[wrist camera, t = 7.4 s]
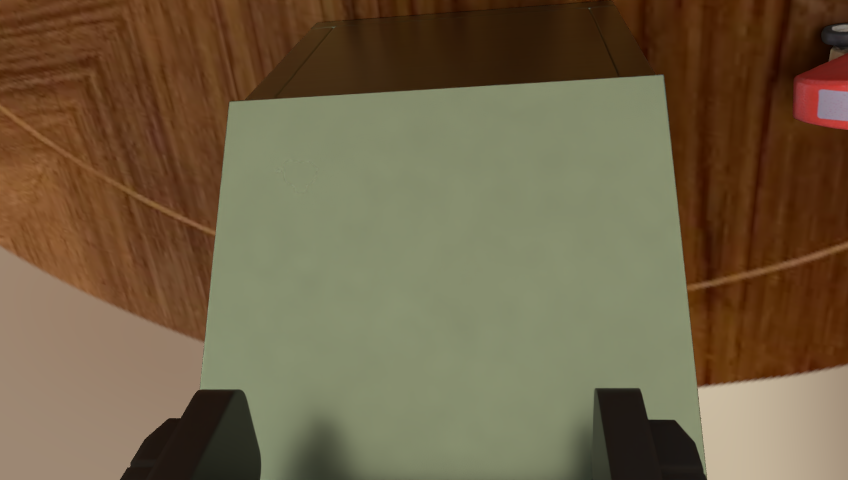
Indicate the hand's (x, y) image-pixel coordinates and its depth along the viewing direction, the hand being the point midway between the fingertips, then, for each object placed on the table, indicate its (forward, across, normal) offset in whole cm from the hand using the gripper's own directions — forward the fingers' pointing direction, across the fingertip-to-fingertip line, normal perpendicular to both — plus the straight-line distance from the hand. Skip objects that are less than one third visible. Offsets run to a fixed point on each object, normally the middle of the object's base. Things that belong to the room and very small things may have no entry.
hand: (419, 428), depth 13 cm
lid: (+4, 0, -1) cm, 4 cm away
